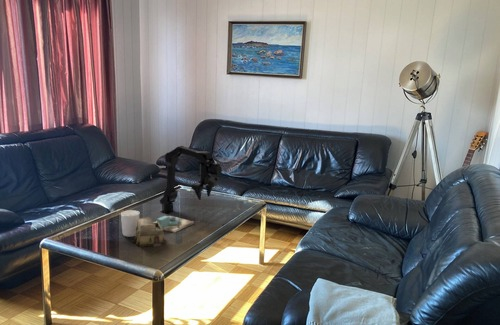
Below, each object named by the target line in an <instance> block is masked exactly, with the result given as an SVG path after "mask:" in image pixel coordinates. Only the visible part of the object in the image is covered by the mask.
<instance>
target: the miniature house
mask: <svg viewBox="0 0 500 325" xmlns="http://www.w3.org/2000/svg"><path fill="white" fill-rule="evenodd" d="M153 222H154V221H153V219H152V217H151V216H148V217H139V218H137V227H136V236H134V238H133V240H134V242H135V246H139V247H140V248H142V247H143V248H144V247H150V246H152V247H153V248H155V247H161V246H162V245H163V244H164V243H166V240H165V237H164V230H163V228H161V226H160V224H159V223H153Z"/></svg>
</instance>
